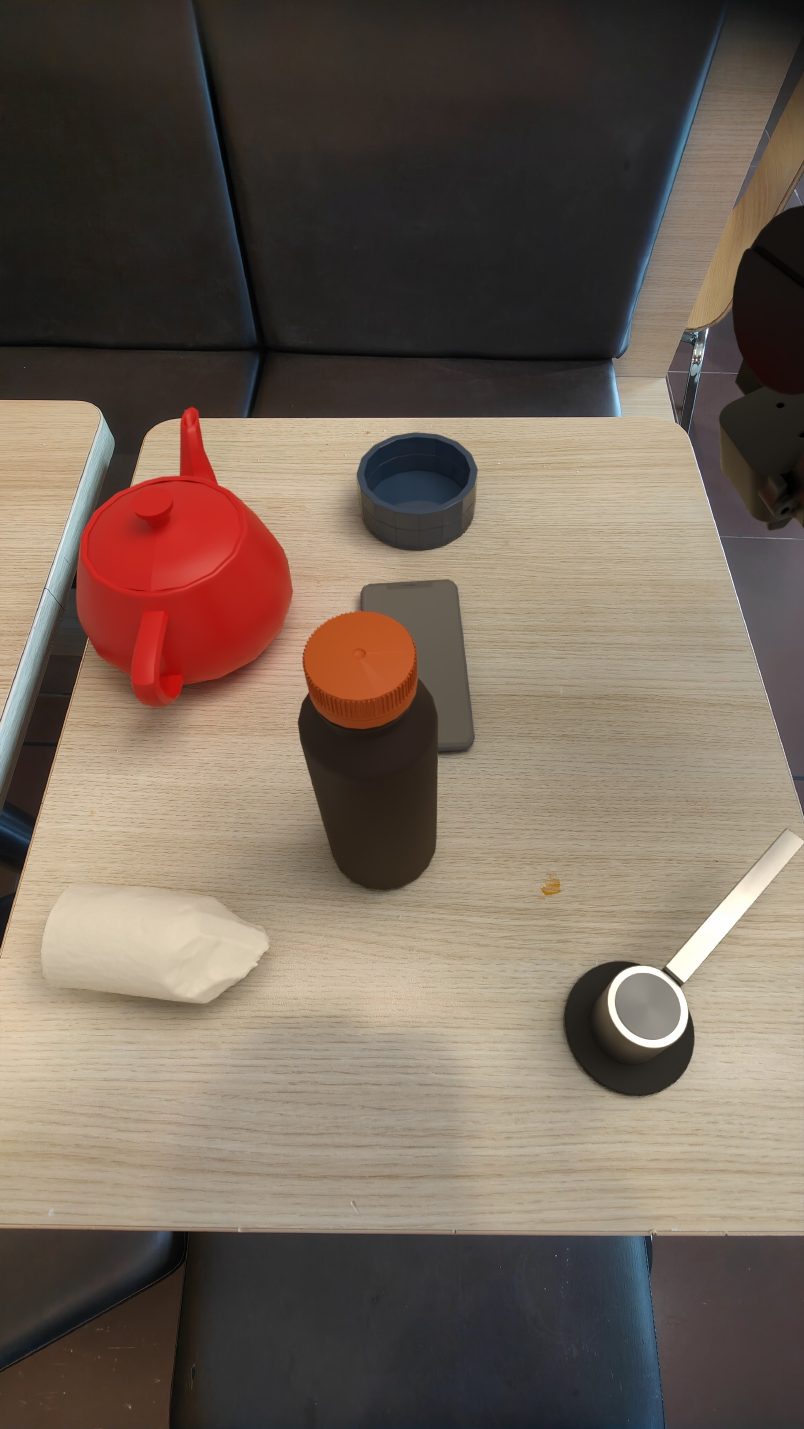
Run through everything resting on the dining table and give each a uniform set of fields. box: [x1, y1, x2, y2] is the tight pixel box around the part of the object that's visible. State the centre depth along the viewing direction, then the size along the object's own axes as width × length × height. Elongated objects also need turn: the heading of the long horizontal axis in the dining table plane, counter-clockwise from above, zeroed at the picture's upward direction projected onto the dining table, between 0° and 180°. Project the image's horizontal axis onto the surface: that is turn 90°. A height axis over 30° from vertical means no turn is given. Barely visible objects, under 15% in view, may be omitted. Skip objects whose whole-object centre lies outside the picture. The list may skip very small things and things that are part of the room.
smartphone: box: [359, 578, 476, 753], centre depth 57 cm, size 8×1×15 cm
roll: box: [40, 880, 271, 1005], centre depth 44 cm, size 6×12×6 cm, turn 83°
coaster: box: [563, 960, 695, 1097], centre depth 43 cm, size 7×7×1 cm
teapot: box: [75, 406, 294, 708], centre depth 56 cm, size 25×16×12 cm, turn 0°
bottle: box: [297, 610, 439, 892], centre depth 42 cm, size 7×7×20 cm
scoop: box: [590, 827, 804, 1065], centre depth 43 cm, size 15×4×6 cm, turn 133°
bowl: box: [356, 431, 479, 551], centre depth 65 cm, size 10×10×4 cm
